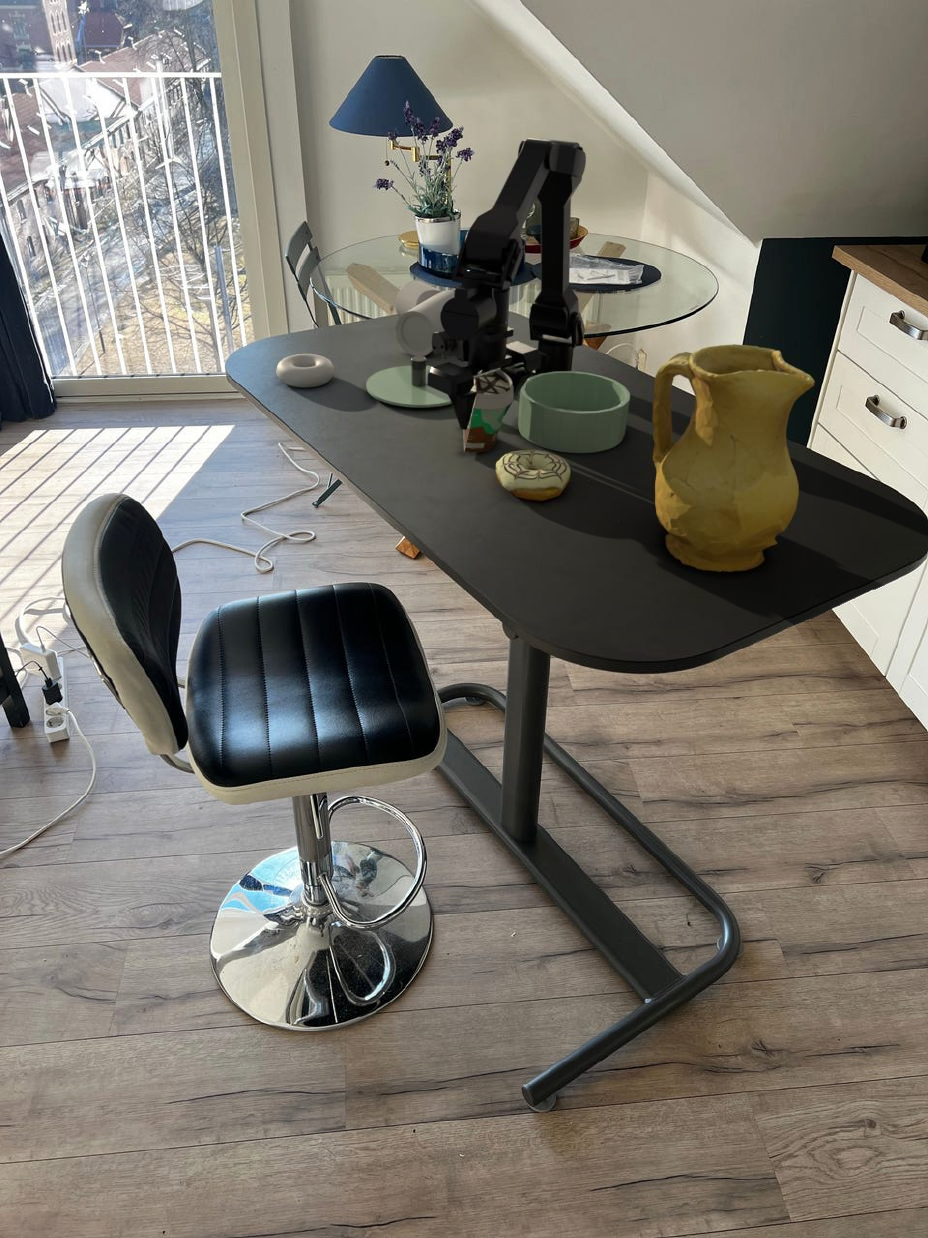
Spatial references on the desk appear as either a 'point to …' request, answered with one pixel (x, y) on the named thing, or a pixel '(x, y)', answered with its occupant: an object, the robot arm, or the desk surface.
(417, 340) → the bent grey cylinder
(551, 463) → the decorated donut
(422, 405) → the lid
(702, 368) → the pitcher
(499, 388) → the food container
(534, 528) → the desk surface
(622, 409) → the pot
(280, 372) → the donut
